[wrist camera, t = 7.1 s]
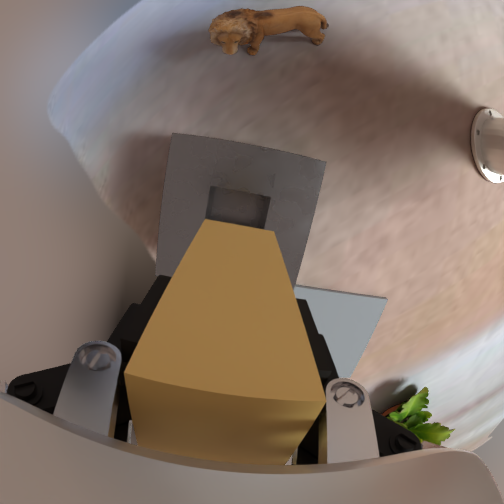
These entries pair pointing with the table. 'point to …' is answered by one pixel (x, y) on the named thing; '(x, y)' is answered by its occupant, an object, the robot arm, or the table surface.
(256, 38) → the brown animal figure
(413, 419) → the potted flower
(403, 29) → the table surface
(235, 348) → the peg
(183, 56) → the table surface
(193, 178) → the hole block
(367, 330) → the mat
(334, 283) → the table surface
